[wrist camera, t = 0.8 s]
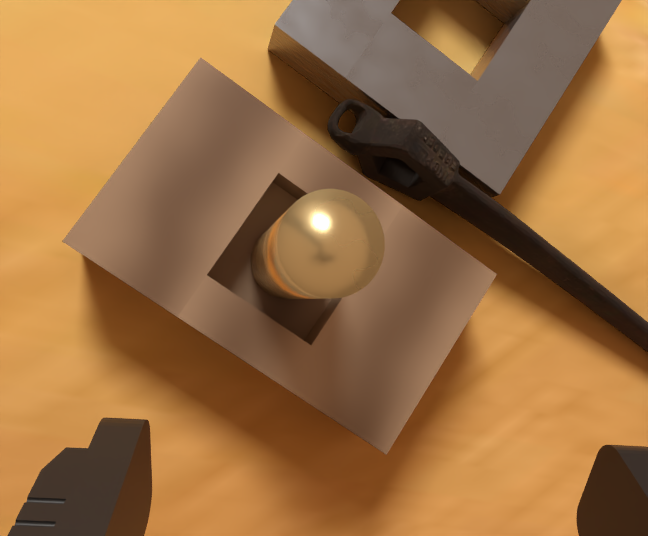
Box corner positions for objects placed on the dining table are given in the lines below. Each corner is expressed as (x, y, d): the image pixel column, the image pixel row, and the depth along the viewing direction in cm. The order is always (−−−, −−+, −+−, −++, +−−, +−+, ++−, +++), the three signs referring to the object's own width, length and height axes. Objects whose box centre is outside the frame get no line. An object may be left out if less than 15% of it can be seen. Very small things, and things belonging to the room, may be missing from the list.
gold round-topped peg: (235, 271, 30) (255, 257, 20) (278, 210, 30) (317, 167, 20) (297, 313, 30) (346, 320, 20) (337, 252, 31) (404, 230, 21)
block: (267, 49, 33) (274, 24, 30) (407, -142, 35) (426, -183, 32) (474, 203, 35) (499, 194, 32) (594, 13, 37) (628, -12, 34)
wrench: (671, 466, 39) (282, 179, 32) (703, 396, 40) (333, 105, 34) (750, 490, 34) (309, 156, 27) (785, 409, 35) (368, 69, 29)
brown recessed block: (81, 249, 30) (62, 241, 26) (199, 90, 32) (200, 57, 28) (360, 434, 33) (386, 454, 28) (458, 277, 34) (497, 274, 30)
